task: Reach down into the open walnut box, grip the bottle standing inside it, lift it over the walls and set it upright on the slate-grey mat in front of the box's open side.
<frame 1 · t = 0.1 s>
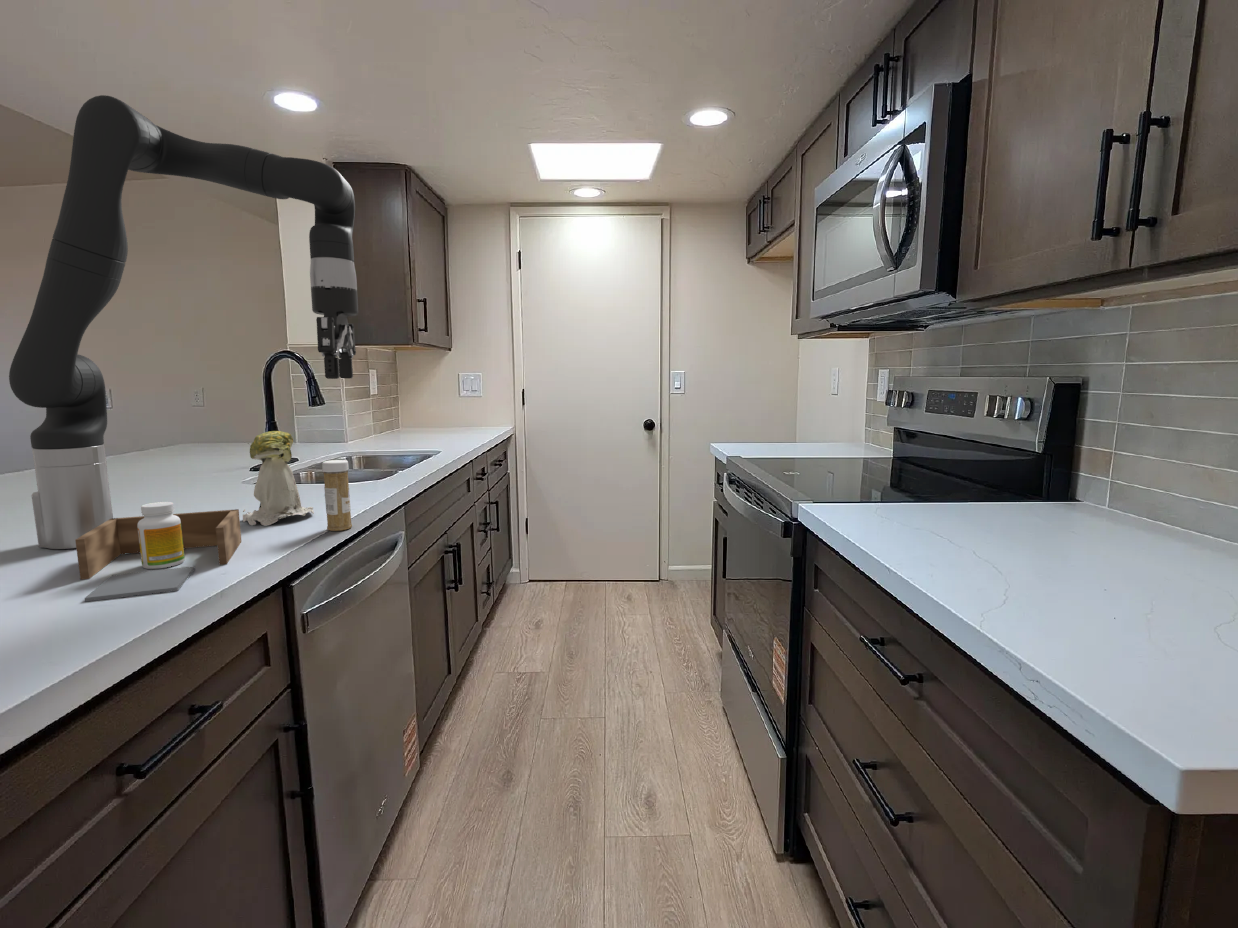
hand: (339, 378, 107), 29 cm above the countertop, tool pointing down, fingers open, 8 cm apart
supplement bottle: (164, 565, 93), on the countertop
grey mat: (144, 584, 84), on the countertop
sprinkles bottle: (339, 529, 115), on the countertop
yellow capped ghost figurine: (279, 519, 123), on the countertop
open box: (166, 562, 94), on the countertop
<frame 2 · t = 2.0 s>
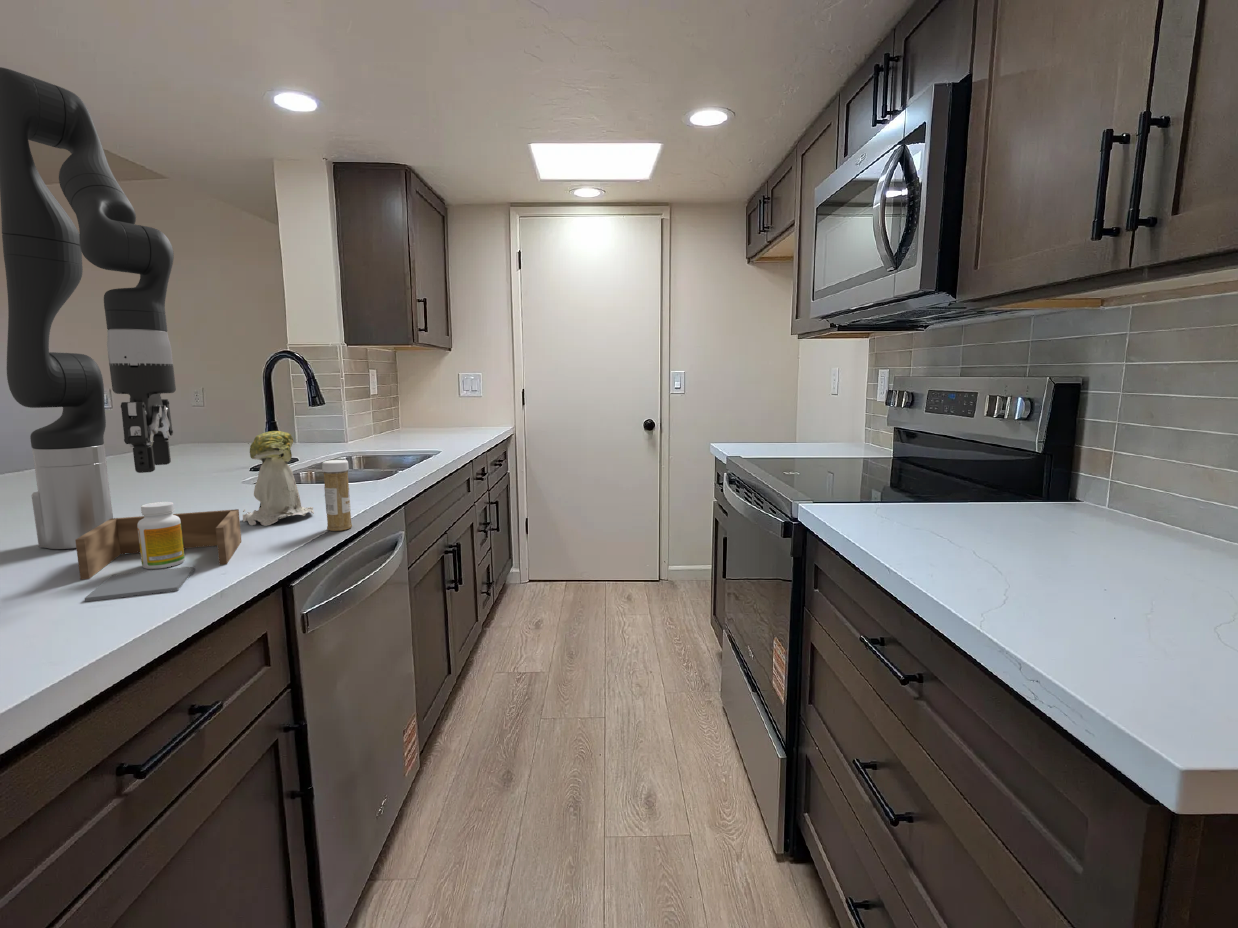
hand: (154, 468, 90), 15 cm above the countertop, tool pointing down, fingers open, 8 cm apart
nothing on the countertop moved.
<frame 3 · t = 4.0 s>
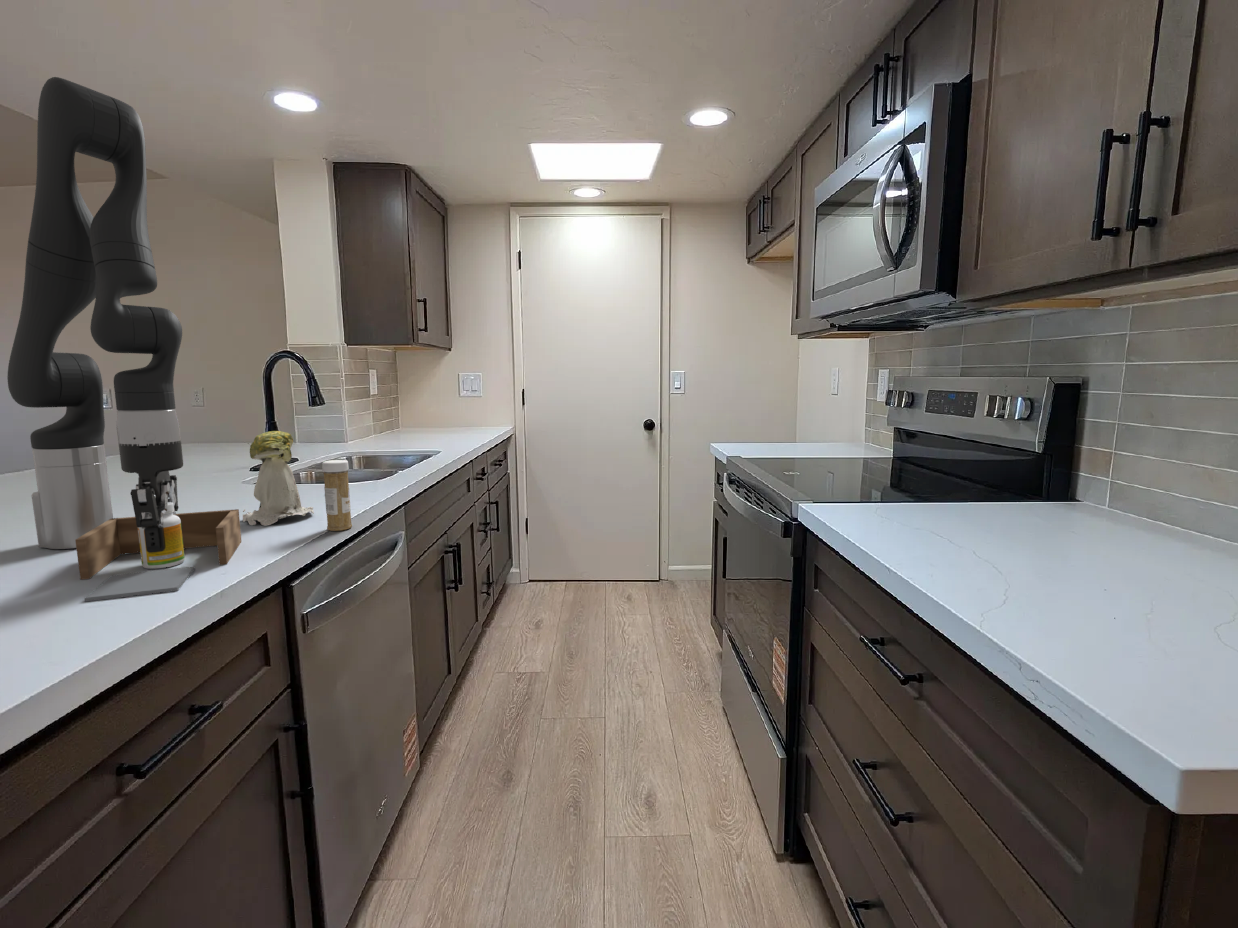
hand: (162, 545, 92), 3 cm above the countertop, tool pointing down, fingers closed on supplement bottle, 5 cm apart
supplement bottle: (164, 565, 93), on the countertop, touching gripper
everything else where it was.
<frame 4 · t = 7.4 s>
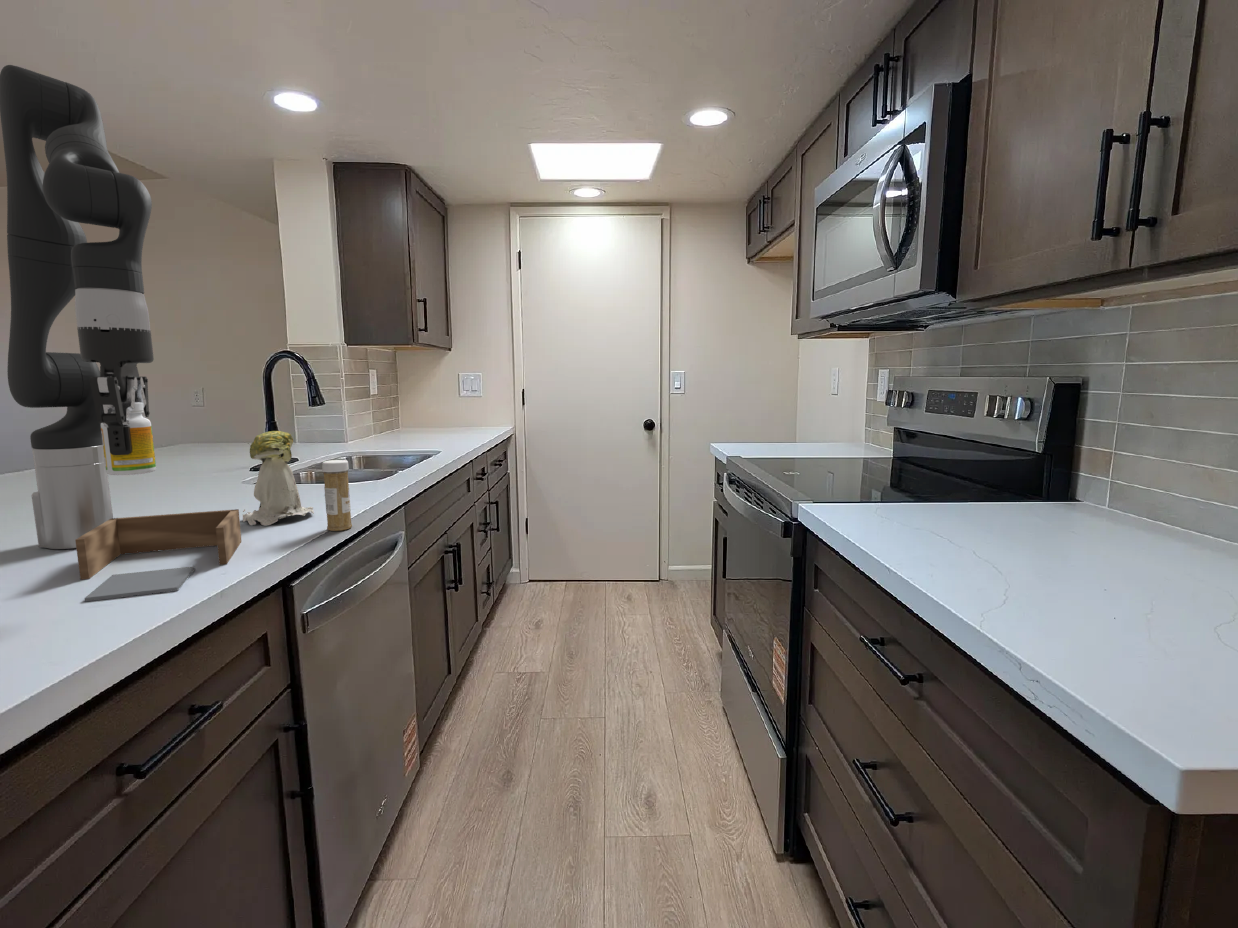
hand: (129, 451, 81), 19 cm above the countertop, tool pointing down, fingers closed on supplement bottle, 5 cm apart
supplement bottle: (132, 474, 81), point 16 cm above the countertop, touching gripper
everything else where it was.
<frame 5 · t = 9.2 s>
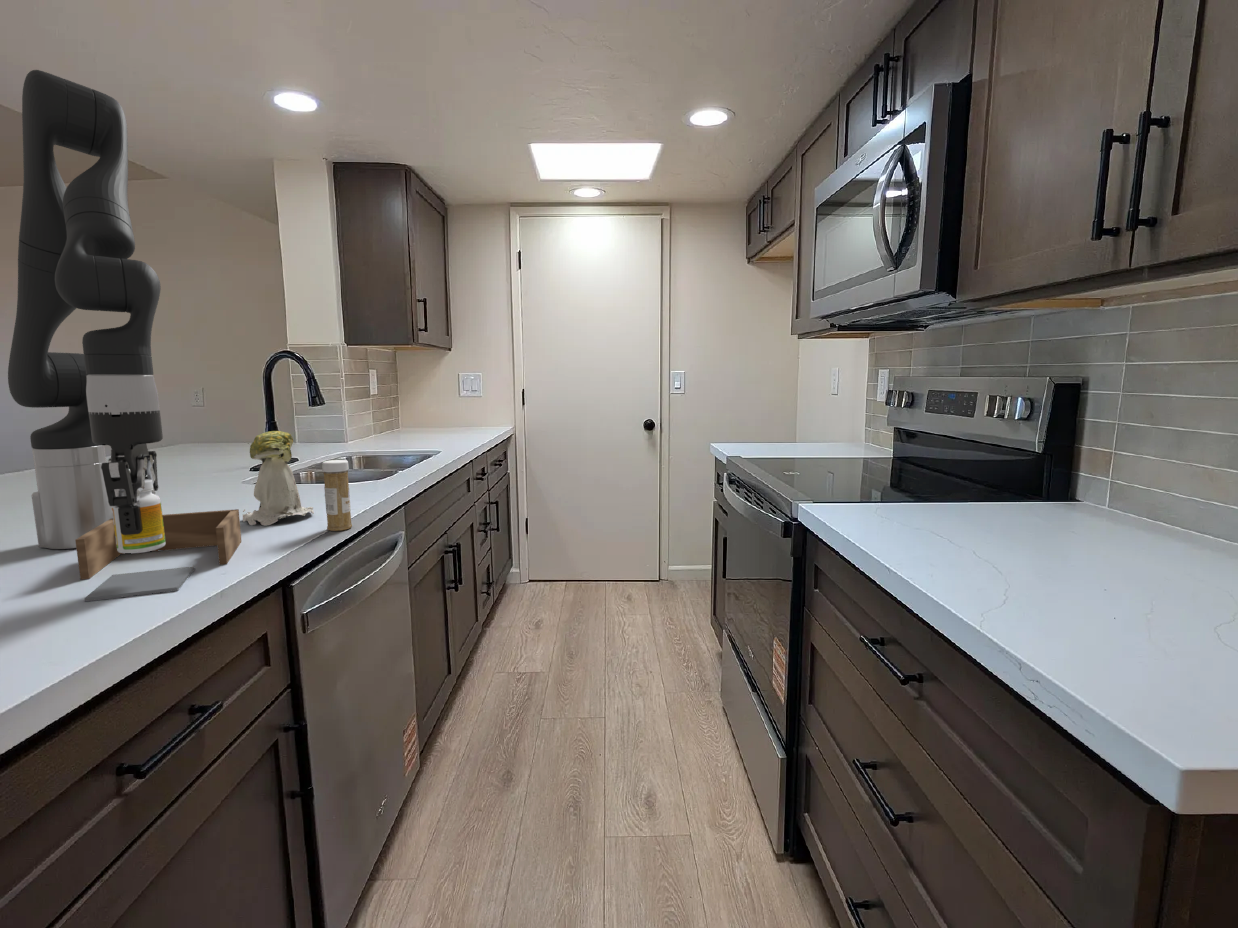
hand: (139, 528, 83), 8 cm above the countertop, tool pointing down, fingers closed on supplement bottle, 5 cm apart
supplement bottle: (142, 550, 83), point 5 cm above the countertop, touching gripper
everything else where it was.
when the fingers open (5 cm above the countertop, at t = 10.8 s): supplement bottle drops 1 cm, resting on grey mat.
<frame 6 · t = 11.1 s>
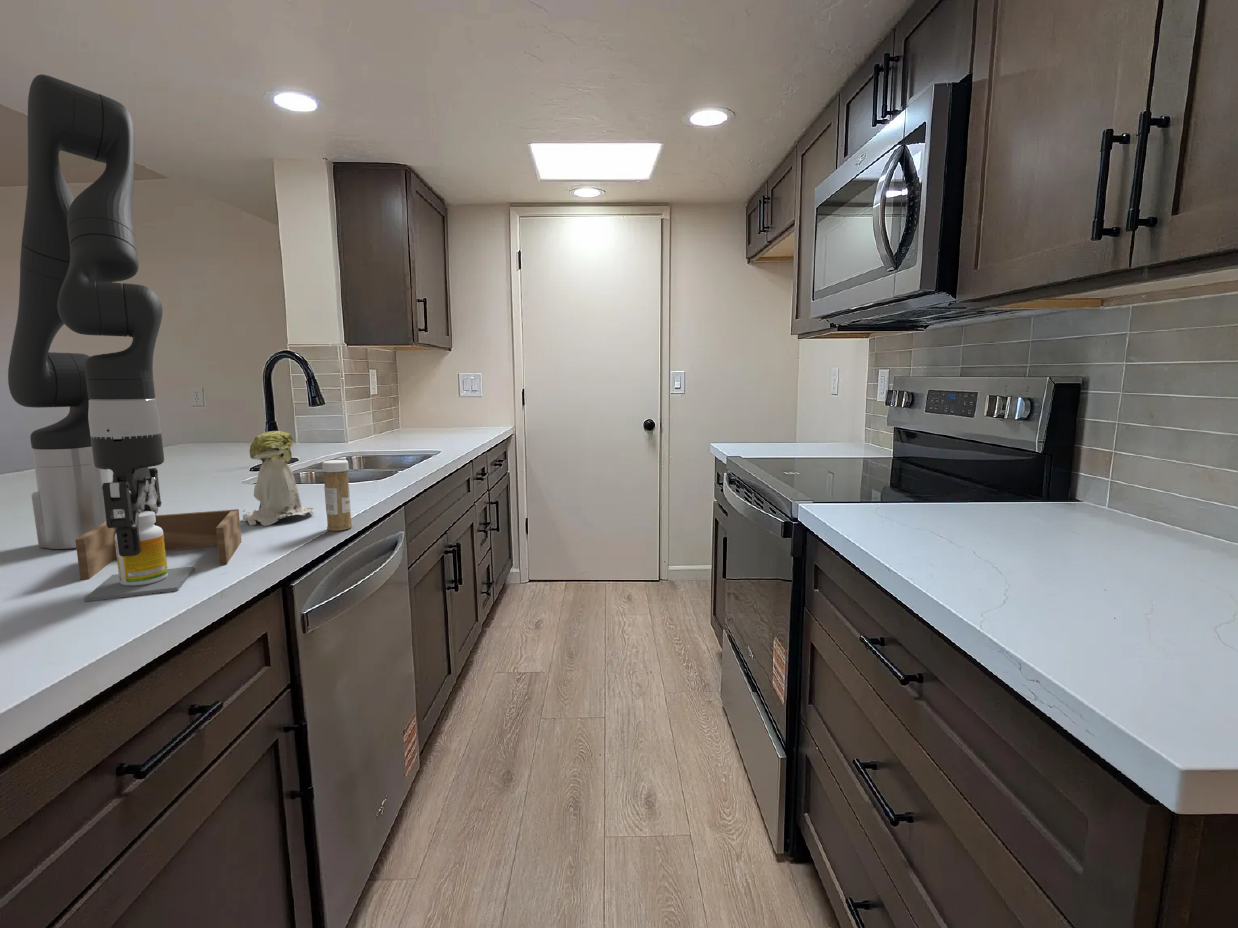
hand: (140, 547, 83), 5 cm above the countertop, tool pointing down, fingers open, 7 cm apart
supplement bottle: (144, 581, 84), resting on grey mat
everything else where it was.
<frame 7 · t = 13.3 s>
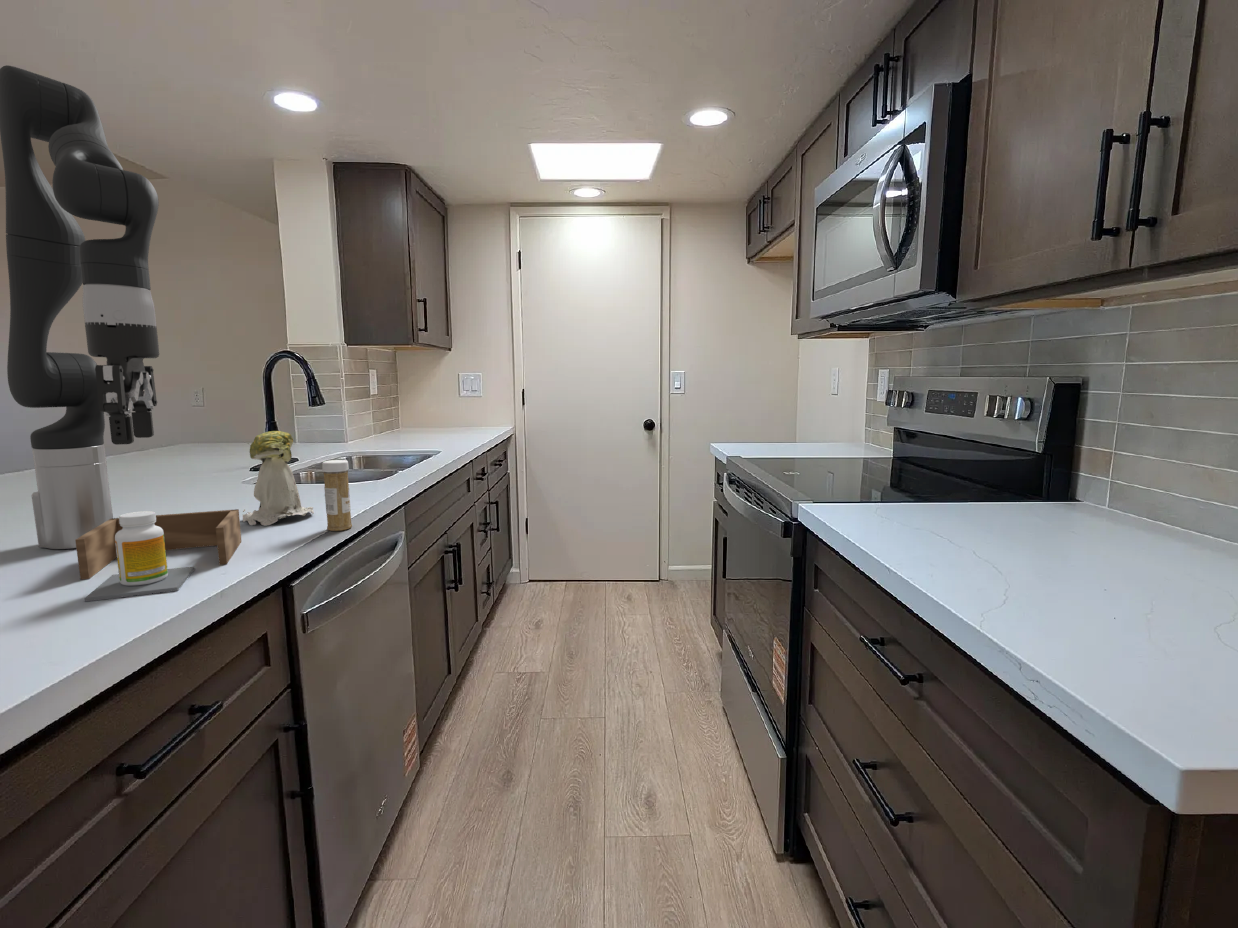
hand: (134, 440, 82), 20 cm above the countertop, tool pointing down, fingers open, 8 cm apart
nothing on the countertop moved.
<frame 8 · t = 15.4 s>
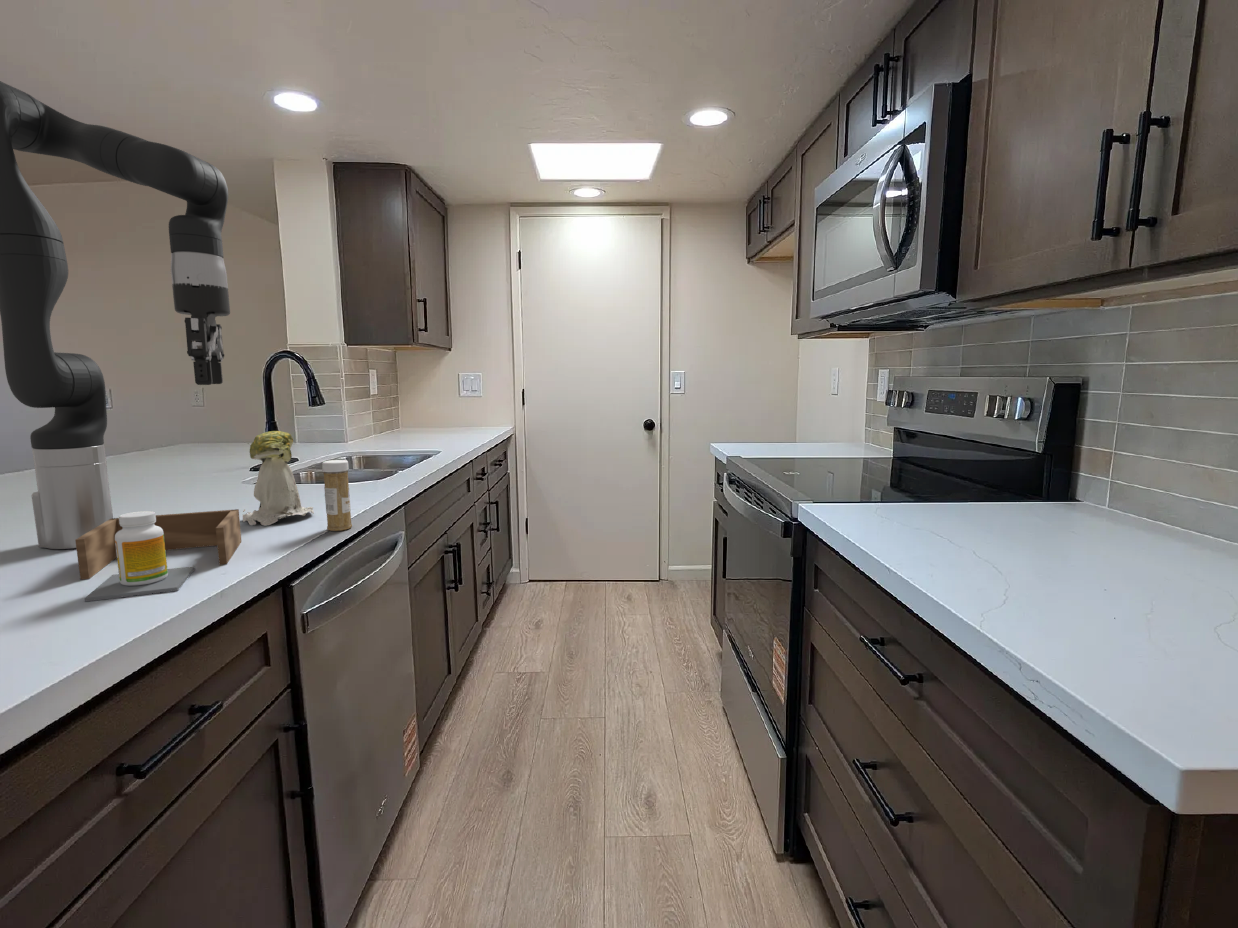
hand: (209, 384, 98), 28 cm above the countertop, tool pointing down, fingers open, 8 cm apart
nothing on the countertop moved.
at the end: supplement bottle inside the target area on the grey mat (0.2 cm from its centre), point 0.3 cm above the grey mat's base; supplement bottle tilted 0°; the gripper is holding nothing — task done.
